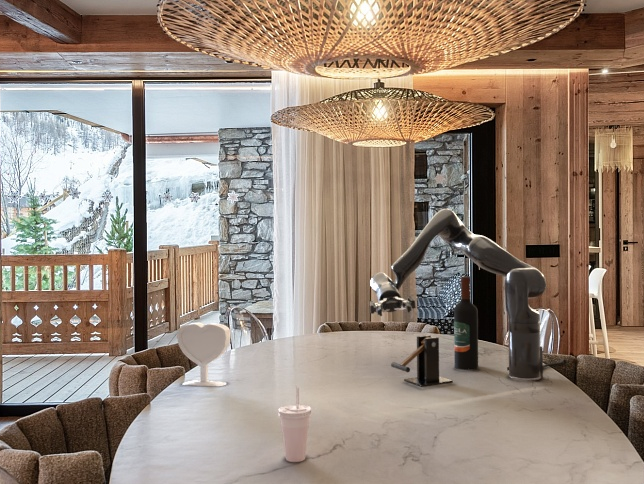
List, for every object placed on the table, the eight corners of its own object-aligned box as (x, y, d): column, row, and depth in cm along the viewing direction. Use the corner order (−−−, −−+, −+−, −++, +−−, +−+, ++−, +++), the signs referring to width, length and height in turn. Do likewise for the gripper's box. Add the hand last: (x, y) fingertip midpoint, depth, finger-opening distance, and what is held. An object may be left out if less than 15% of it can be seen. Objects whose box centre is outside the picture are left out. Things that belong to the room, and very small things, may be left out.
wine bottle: (481, 371, 193) (480, 277, 193) (458, 372, 192) (457, 277, 192) (473, 366, 201) (472, 276, 200) (451, 367, 199) (450, 276, 199)
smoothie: (305, 466, 114) (304, 391, 114) (273, 462, 115) (272, 389, 115) (316, 454, 120) (315, 383, 120) (286, 451, 122) (285, 382, 121)
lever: (408, 374, 169) (404, 368, 168) (393, 369, 176) (389, 363, 175) (440, 345, 174) (437, 338, 174) (425, 341, 181) (421, 334, 181)
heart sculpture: (176, 384, 179) (175, 324, 179) (184, 380, 184) (183, 321, 184) (225, 386, 176) (224, 325, 176) (232, 382, 181) (231, 322, 181)
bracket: (421, 389, 170) (420, 340, 170) (404, 383, 178) (403, 336, 178) (452, 384, 176) (452, 337, 176) (434, 378, 184) (434, 333, 184)
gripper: (411, 306, 201) (418, 320, 185) (368, 311, 200) (372, 325, 184) (409, 284, 199) (416, 296, 183) (366, 289, 199) (370, 302, 183)
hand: (394, 311), depth 184 cm, fingers open, 8 cm apart
